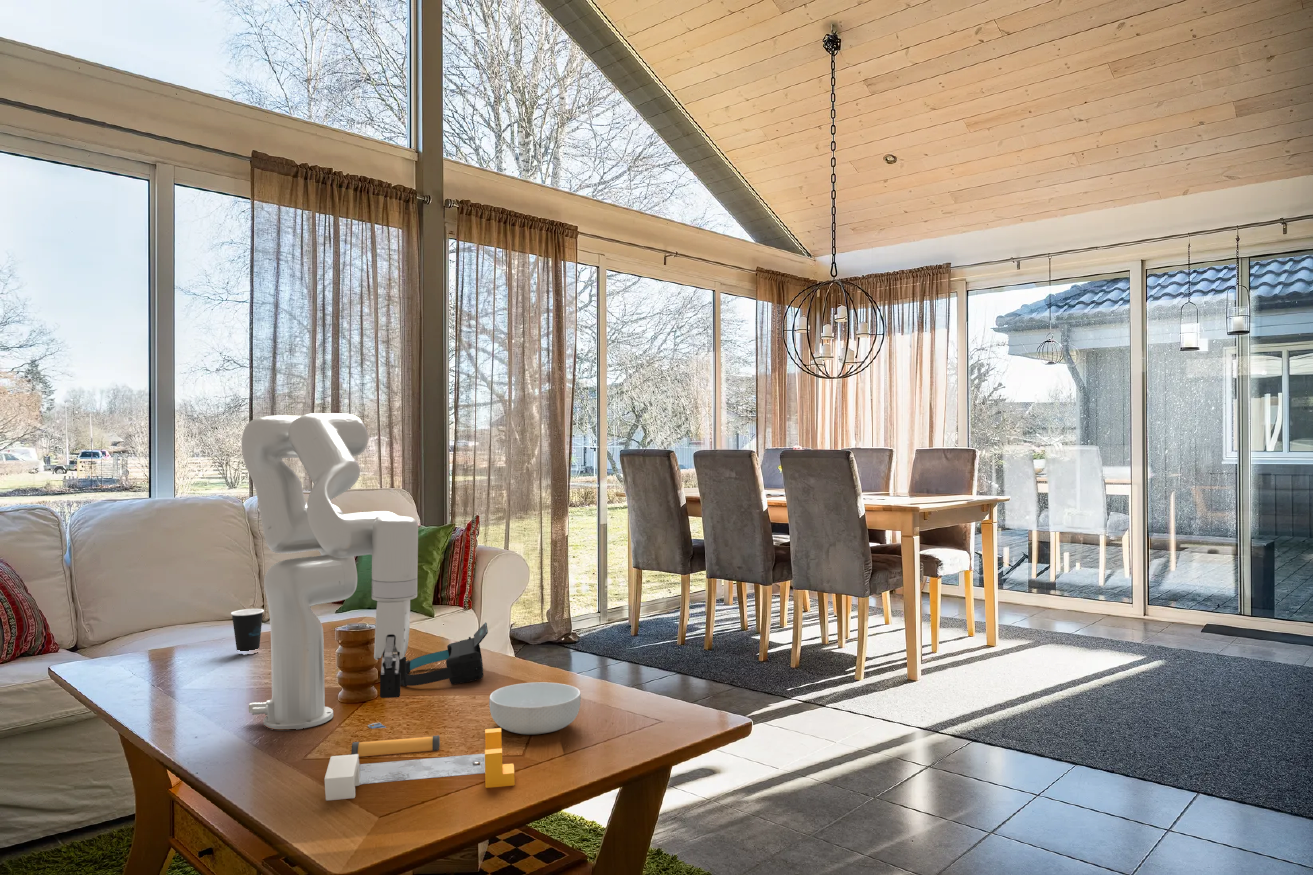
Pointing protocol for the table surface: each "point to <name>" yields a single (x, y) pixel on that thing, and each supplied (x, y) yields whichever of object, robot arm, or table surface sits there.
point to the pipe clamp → (496, 761)
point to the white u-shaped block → (342, 777)
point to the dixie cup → (247, 628)
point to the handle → (396, 746)
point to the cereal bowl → (534, 707)
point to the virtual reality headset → (451, 662)
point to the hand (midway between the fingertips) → (393, 688)
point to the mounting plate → (422, 768)
